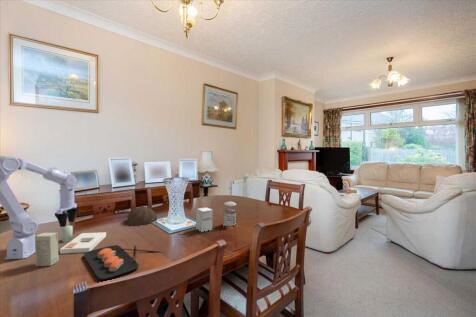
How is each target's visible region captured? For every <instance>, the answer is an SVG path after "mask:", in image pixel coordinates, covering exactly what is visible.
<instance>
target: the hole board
mask: <svg viewBox="0 0 476 317" xmlns="http://www.w3.org/2000/svg"><path fill="white" fill-rule="evenodd" d="M106 237H107V232H81V233H80V234H79V235H78V236H76V237H75V238H73V240H71V241H69V242H67V243H66V244H65V245H63V246H62V247H61V248H60V249H59V254H60V255H61V254H62V255H63V254H76V253H77V254H80V253H86V252H89V251H92V250H94V248H95V247H96V246H98V244H100V243H101V242H102V241H103V239H105V238H106Z"/></svg>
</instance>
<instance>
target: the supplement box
mask: <svg viewBox="0 0 476 317" xmlns="http://www.w3.org/2000/svg"><path fill="white" fill-rule="evenodd" d="M195 213H196V216H195V217H196V218H195V230H197V229H198V230H199V231H198V230H197V231H198V232H200V231H201V232H200V233H204V231H205V232H208V230H209V231H213V209H212V208H209V207H200V208H196V212H195Z"/></svg>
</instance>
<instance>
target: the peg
mask: <svg viewBox="0 0 476 317" xmlns="http://www.w3.org/2000/svg"><path fill="white" fill-rule="evenodd" d="M73 228H74V226H73V225H71V224H70V225H66V226H65V227H61V242H62V243H69V242H71V241H72V240H73V239H74V238H73V237H74V236H73V235H74V234H73V233H74V231H73Z"/></svg>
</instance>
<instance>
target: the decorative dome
mask: <svg viewBox="0 0 476 317" xmlns="http://www.w3.org/2000/svg"><path fill="white" fill-rule="evenodd" d="M157 219H158V220H159V218H158V216H157V213H156V212H155V211H154V210H153V209H152V208H150V207H147V206H138V207H136V208H134V209H133V210H132V211H131V212H130V213H128V214H127V219H126V221H125V224H126V225H129V226H136V227H140V226H141V225H142V226H149V225H148V224H150V225H152V224H153V223H152V222H154V221H158V220H157ZM151 223H152V224H151Z"/></svg>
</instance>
